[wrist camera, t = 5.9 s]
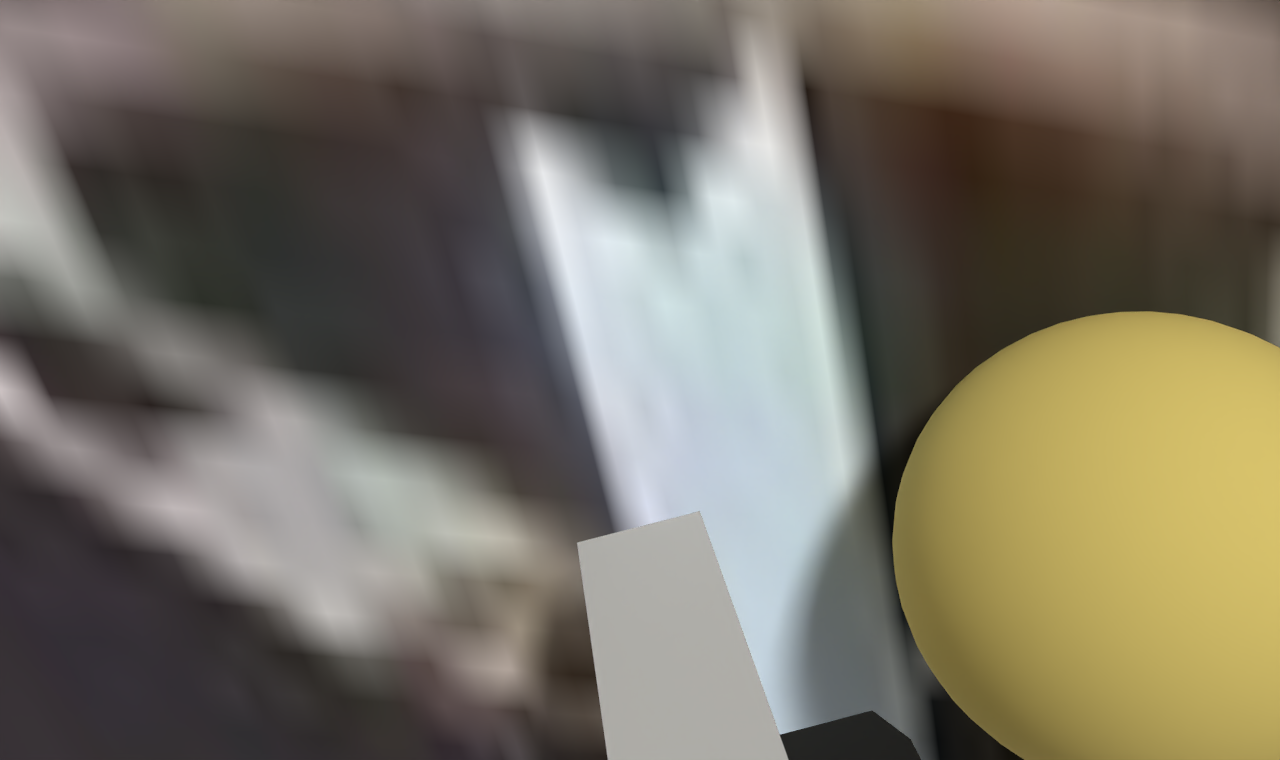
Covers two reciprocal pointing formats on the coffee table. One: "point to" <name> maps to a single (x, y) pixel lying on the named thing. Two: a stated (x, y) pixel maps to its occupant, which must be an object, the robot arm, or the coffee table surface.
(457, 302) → the coffee table surface
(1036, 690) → the yellow ball
